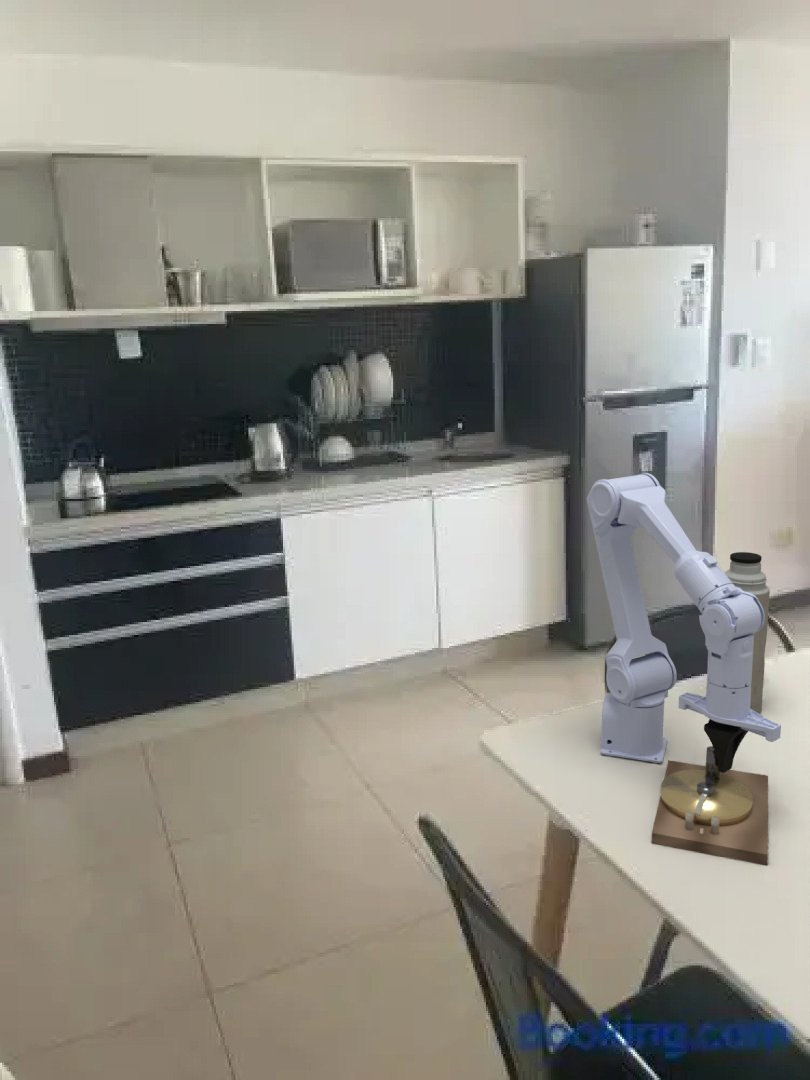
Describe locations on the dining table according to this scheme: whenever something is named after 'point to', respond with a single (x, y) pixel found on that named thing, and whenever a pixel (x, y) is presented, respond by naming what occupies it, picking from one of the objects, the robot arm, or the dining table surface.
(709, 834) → the walnut stand
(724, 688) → the robot arm
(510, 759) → the dining table surface
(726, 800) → the dial
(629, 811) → the dining table surface
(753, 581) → the thermos bottle
